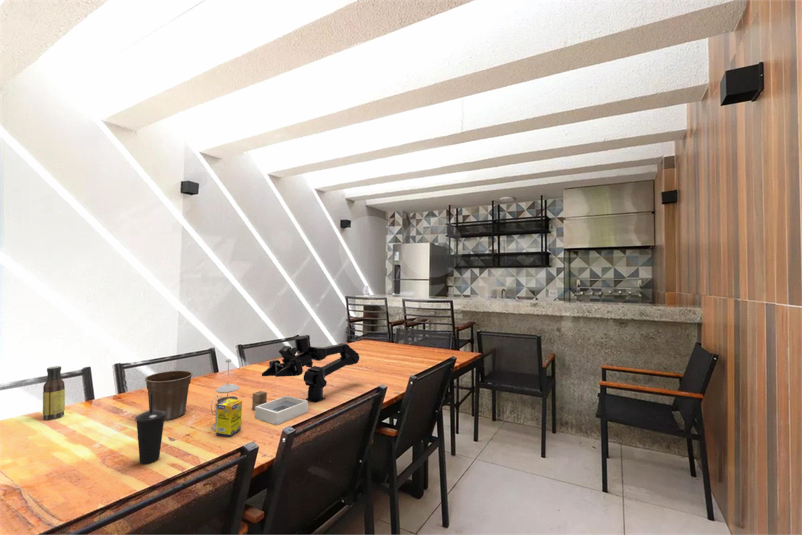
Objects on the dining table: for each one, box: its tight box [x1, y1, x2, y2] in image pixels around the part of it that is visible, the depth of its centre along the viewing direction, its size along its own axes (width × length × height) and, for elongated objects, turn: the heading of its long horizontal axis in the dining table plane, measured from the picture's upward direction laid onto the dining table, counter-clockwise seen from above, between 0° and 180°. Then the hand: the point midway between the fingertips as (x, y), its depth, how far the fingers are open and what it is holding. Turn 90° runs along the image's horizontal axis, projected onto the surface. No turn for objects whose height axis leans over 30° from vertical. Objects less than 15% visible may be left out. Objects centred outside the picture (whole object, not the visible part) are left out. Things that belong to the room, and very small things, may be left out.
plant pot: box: [144, 370, 193, 422], centre depth 143 cm, size 16×16×16 cm
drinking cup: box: [134, 394, 166, 465], centre depth 108 cm, size 8×8×20 cm
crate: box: [254, 395, 309, 426], centre depth 144 cm, size 16×13×4 cm
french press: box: [210, 358, 240, 431], centre depth 133 cm, size 10×12×25 cm
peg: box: [251, 390, 268, 412], centre depth 150 cm, size 4×4×7 cm
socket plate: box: [266, 401, 297, 412], centre depth 144 cm, size 14×11×2 cm
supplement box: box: [215, 399, 243, 438], centre depth 127 cm, size 6×6×11 cm
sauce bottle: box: [42, 365, 66, 421], centre depth 140 cm, size 6×6×20 cm
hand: (268, 375), depth 143 cm, fingers open, 9 cm apart
